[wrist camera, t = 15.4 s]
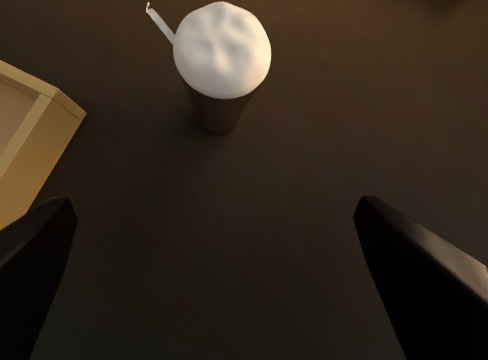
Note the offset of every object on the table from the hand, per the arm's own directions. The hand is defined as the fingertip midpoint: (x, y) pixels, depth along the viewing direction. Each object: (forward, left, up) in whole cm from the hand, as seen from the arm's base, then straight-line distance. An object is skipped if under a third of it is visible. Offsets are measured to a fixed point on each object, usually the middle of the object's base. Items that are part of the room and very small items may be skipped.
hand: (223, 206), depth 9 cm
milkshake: (+7, +3, -12) cm, 14 cm away
